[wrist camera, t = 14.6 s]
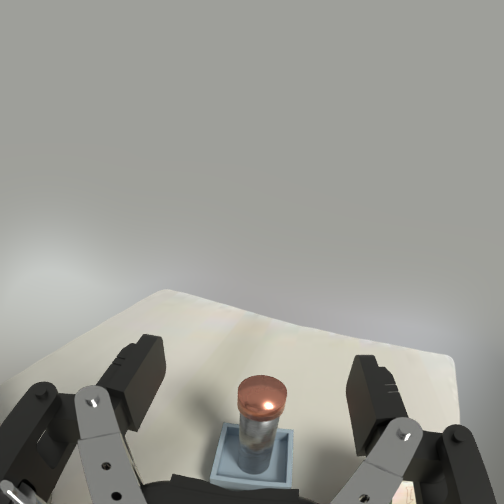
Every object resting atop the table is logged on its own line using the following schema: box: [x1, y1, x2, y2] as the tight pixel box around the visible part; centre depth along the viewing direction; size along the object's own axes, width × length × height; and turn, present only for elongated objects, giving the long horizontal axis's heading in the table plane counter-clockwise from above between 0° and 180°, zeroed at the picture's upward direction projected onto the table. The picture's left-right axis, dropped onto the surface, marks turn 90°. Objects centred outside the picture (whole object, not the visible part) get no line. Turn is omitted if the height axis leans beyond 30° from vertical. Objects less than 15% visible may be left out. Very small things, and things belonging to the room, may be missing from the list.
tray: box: [210, 423, 293, 491], centre depth 31 cm, size 9×9×3 cm
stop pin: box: [237, 375, 287, 475], centre depth 29 cm, size 5×5×14 cm
